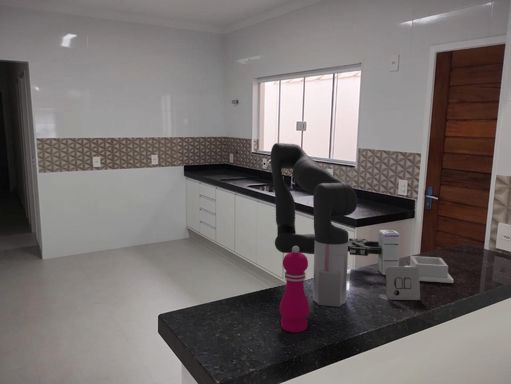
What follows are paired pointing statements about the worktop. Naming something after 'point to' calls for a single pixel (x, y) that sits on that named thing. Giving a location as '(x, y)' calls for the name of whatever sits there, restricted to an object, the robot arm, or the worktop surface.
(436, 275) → the socket plate
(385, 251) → the syrup box
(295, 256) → the pepper mill
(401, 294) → the electrical switch
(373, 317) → the worktop surface
